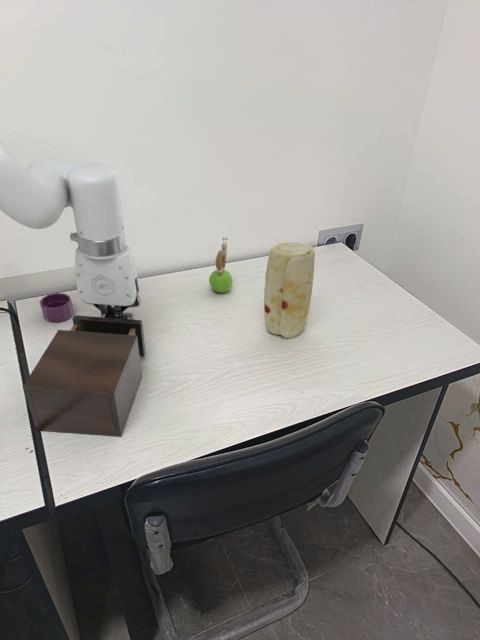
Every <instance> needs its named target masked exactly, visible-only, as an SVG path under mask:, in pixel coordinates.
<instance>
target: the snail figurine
mask: <svg viewBox="0 0 480 640" xmlns="http://www.w3.org/2000/svg"><path fill="white" fill-rule="evenodd" d="M221 239H222V243H221V250H219V251H218V252H217V254H216V258H215V267H216V269H215V270H213V271H212V272H211V274H210V275H209V277H208V284H209V287H210V288H211V289H212V290H213V291H214V292H216V293H219V294H221V293H226V292H227V291H229V290H230V289H231V288H232V286H233V281H234V280H233V276H232V274H231V272H229V271H228V270H227V269H225V268H226V263H227V254H228V252H227V250H228V244H227V241H228V237H224V236H223V237H222V238H221ZM224 241H225V242H224Z"/></svg>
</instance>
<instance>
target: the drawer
mask: <svg viewBox="0 0 480 640" xmlns="http://www.w3.org/2000/svg"><path fill="white" fill-rule="evenodd" d="M122 313H123V319H119V318H105V317H104V315H102V314H101V313H100V316H92V315H91V316H88V315H76V314H75V315H73V317H72V319H71V320H72V324H73V325H72V326H71V328H70V330H69V331H82V332H96V333H109V334H123V335H137V338H138V339H137V340H138V347H139V356H140V358H145V355H146V344H145V334H144V326H143V324H144V323H143V319H135V314H134V312H125V311H124V312H122Z"/></svg>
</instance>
